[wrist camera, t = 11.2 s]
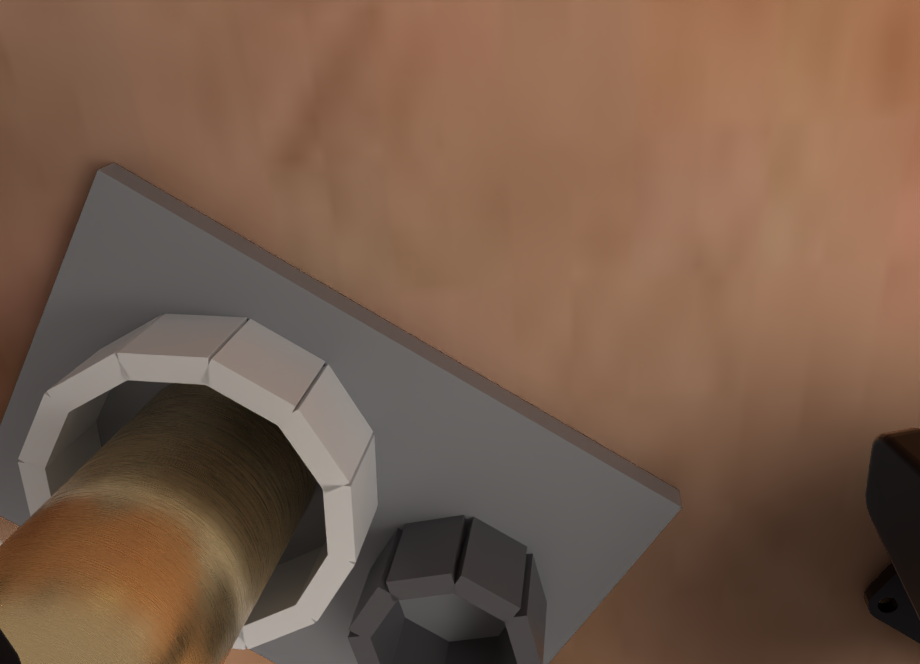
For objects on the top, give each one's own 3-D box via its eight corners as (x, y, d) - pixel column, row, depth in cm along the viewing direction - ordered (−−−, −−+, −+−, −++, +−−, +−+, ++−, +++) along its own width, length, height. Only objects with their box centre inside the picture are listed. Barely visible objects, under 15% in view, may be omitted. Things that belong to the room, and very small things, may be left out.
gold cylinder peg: (328, 400, 23) (31, 876, 11) (306, 556, 25) (38, 1096, 13) (139, 356, 23) (-348, 770, 11) (134, 514, 25) (-280, 1001, 13)
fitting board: (679, 490, 23) (692, 567, 20) (466, 742, 28) (451, 836, 25) (114, 163, 22) (38, 193, 19) (-12, 485, 27) (-88, 552, 24)
